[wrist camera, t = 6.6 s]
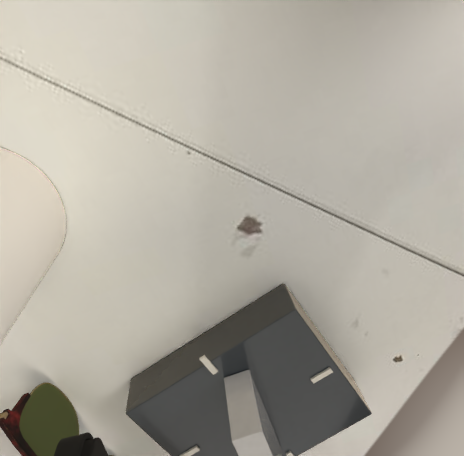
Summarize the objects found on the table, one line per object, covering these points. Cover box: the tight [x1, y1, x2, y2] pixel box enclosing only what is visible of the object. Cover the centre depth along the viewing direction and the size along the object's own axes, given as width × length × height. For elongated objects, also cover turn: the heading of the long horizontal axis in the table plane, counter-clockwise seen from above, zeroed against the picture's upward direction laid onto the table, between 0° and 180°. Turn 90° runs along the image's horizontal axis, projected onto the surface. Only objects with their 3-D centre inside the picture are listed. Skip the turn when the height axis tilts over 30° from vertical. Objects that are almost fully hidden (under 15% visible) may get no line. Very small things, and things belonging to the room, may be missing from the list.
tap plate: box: [126, 284, 372, 456], centre depth 28 cm, size 12×11×3 cm
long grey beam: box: [224, 370, 283, 456], centre depth 24 cm, size 7×2×5 cm, turn 18°
